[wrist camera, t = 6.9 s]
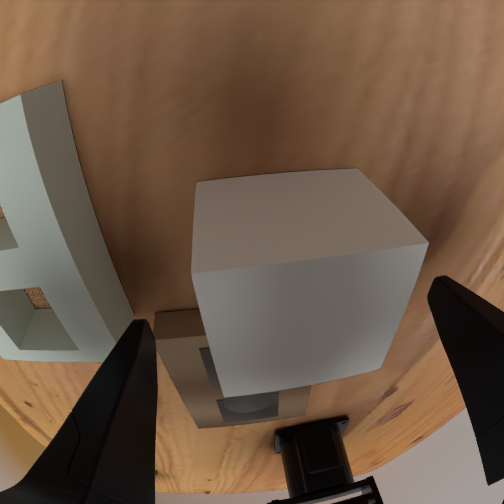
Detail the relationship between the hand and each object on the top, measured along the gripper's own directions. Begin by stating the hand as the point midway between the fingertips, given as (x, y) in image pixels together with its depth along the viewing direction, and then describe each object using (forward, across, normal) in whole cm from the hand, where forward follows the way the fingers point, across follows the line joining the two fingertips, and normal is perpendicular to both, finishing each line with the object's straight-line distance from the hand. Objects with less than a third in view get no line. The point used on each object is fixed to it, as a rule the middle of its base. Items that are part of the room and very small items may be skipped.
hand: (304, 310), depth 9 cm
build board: (+4, +10, -2) cm, 11 cm away
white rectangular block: (+4, 0, 0) cm, 4 cm away
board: (+4, +2, +8) cm, 9 cm away
